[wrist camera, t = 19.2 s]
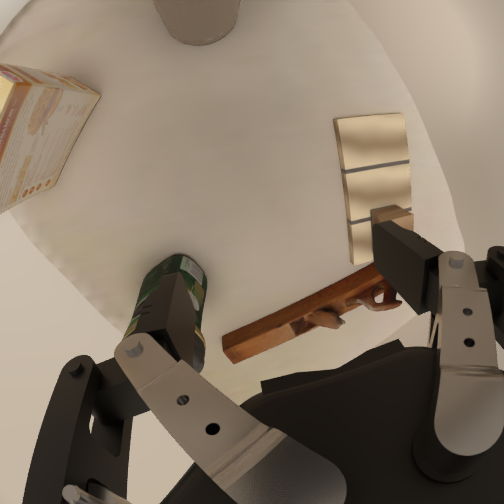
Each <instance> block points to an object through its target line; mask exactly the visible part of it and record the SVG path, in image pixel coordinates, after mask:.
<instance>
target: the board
mask: <svg viewBox="0 0 504 504" xmlns="http://www.w3.org/2000/svg"><path fill="white" fill-rule="evenodd" d="M333 122H334V127H335V133H336V139H337V145H338V151H339V158H340V164H341V171H342V179H343V186H344V195H345V203H346V213H347V223H348V234H349V247H350V261H351V263H352V264H353V265H354V266H355V265H358V264H362V263H365V262H369V261H372V260H374V259H373V252H372V233H371V215H370V210H372V209H376V208H380V207H385V206H389V205H394V204H396V205H397V206H399V207H401V208H403V209H405V210H407V211H408V212H410V213H412V209H411V181H410V165H409V153H408V143H407V134H406V126H405V119H404V113H395V114H381V115H369V116H359V117H349V118H341V119H333Z"/></svg>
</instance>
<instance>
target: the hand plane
mask: <svg viewBox="0 0 504 504" xmlns="http://www.w3.org/2000/svg"><path fill="white" fill-rule="evenodd" d="M381 293H384V298H383V302H382V303H376V302H375V300H374V298H375V297H376V296H378V295H380V294H381ZM396 294H397V291H396V290H395V289H394V288H393V287H392V286H391V285H390V284H389V283H388V281H387V280H386V279H385V278H384V277H383V276H382V275H381V274H380V273H379V272H378V271H377V269H376V267H375V264H374V262H373V263H371V264H370V265H368V266H366V267H364V268H362V269H360V270H359V271H357V272H355V273H353V274H351V275H349V276H347V277H345V278H343V279H342V280H340V281H338V282H336V283H334V284H332V285H330V286H328V287H326V288H324V289H322V290H320V291H318V292H316V293H314V294H312V295H310V296H308V297H306V298H304V299H302V300H300V301H298V302H296V303H293V304H291V305H289V306H287V307H285V308H283V309H281V310H279V311H277V312H275V313H273V314H270V315H268V316H266V317H264V318H262V319H260V320H257V321H255V322H253V323H251V324H248V325H246V326H244V327H241V328H239V329H237V330H235V331H233V332H230V333H228V334H226V335H224V336H223V337H222V347H223V352H224V353H225V355H226V356H227V357H228V358H229V359H230V361H231V362H232V363H233V364H236V363H238V362H241V361H243V360H245V359H247V358H250V357H252V356H254V355H257V354H259V353H261V352H264V351H266V350H268V349H271V348H273V347H275V346H277V345H280V344H282V343H284V342H286V341H288V340H291V339H293V338H295V337H297V336H299V335H301V334H304V333H306V332H308V331H310V330H313V329H315V328H317V327H319V326H322V327H327V328H332V329H338V328H339V327H340V326H341V325H342V324H345V321H344V320H342V319H341V318H340V317H339V316H341V315H342V314H344V313H346V312H348V311H350V310H353V309H355V308H357V307H358V306H360V305H362V304H363V305H364V306H366V307H367V308H368V309H369V310H372V311H385V310H389V309H394V308H396V307H398V306H400V305H401V304H402V301H400V300H396Z"/></svg>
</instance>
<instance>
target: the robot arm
mask: <svg viewBox="0 0 504 504" xmlns="http://www.w3.org/2000/svg"><path fill="white" fill-rule="evenodd" d="M152 2H153V3H154V5H155V7H156V9H157V11H158V12H159V14H160V16H161V18H162V20H163V22H164V23H165V25H166V27H167V29H168V31H169V32H170V34H171V35H172V36H173V37H174V38H175V39H177V40H178V41H180V42H183V43H185V44H190V45H205V44H210V43H213V42H216V41H218V40H220V39H222V38H223V37H224V36H226V35H227V34H228V33H229V32H230V31H231V30H232V28H233V26H234V25H235V22H236V18H237V13H238V9H239V3H240V0H152ZM372 233H373V259H374V264H375V267H376V269H377V271H378V272H379V273H380V274H381V275H382V276H383V277H384V278H385V279H386V280H387V281H388V283H389V284H390V285H391V286H392V287H393V288H394V289H395V290H396V291H397V292H398V293H399V294H400V295H401V297H402V298H403V299H404V300H405V301H406V302H407V303H408V304H409V305H410V306H411V308H412V309H413V310H414V311H415V312H416V313H417V314H418V315H420V314H423V313H425V312H428V311H431V316H430V322H429V334H428V343H427V347H404V346H403V345H402V343H401V342H400V340H399V339H397V340H394V341H392V342H389V343H386V344H384V345H381V346H379V347H376V348H373V349H370V350H368V351H366V352H364V353H363V354H361V355H359V356H358V357H356V358H355V359H353V360H351V361H349V362H348V363H346V364H344V365H343V366H341V367H339V368H336V369H331V370H321V371H309V372H297V373H293V374H289V375H285V376H281V377H277V378H273V379H269V380H264V381H260V382H261V387H262V392H261V393H259V394H257V395H255V396H253V397H251V398H249V399H248V400H246V401H245V402H244V403H242V404H241V405H240V406H238V405H237V404H236V403H234V402H233V401H232V400H230V399H229V398H228V397H227V396H225V395H224V394H223V393H222V392H220V391H219V390H218V389H217V388H215V387H214V386H213V385H212V384H211V383H209V382H208V381H207V380H206V379H205V378H203V377H202V376H201V375H200V374H199V373H198V372H196V371H195V370H194V369H193V354H194V339H195V325H196V313H195V308H194V305H193V302H192V299H191V297H190V294H189V292H188V289H187V287H186V284H185V281H184V279H183V276H182V274H181V273H180V272H176V273H172V274H168V275H164V276H162V277H161V279H160V282H159V285H158V288H157V290H153V291H152V292H151V293H150V294H149V295H148V296H147V297H146V299H145V301H144V304H143V308H142V310H141V313H140V316H139V319H138V321H137V324H136V327H135V331H134V334H133V335H131V336H128V337H127V338H125V339H124V340H122V341H121V342H120V343H119V344H118V346H117V347H116V349H115V352H114V358H111V359H109V360H106V361H104V362H101V363H99V364H95V362H94V361H93V360H92V358H91V357H90V356H88V355H81V356H77V357H75V358H73V359H71V360H70V361H69V362H68V363H66V365H65V366H64V367H63V369H62V371H61V373H60V375H59V378H58V381H57V383H56V386H55V388H54V391H53V394H52V396H51V399H50V402H49V405H48V408H47V410H46V413H45V416H44V419H43V422H42V426H41V429H40V432H39V435H38V439H37V442H36V446H35V449H34V453H33V457H32V461H31V464H30V469H29V473H28V477H27V482H26V487H25V492H24V497H23V503H22V504H131V503H130V502H129V501H127V498H126V497H127V478H128V462H129V451H130V440H131V430H132V421H133V416H136V415H139V414H141V413H144V412H147V411H150V410H151V411H152V412H153V413H154V415H155V416H156V417H157V419H158V420H159V421H160V422H161V424H162V425H163V426H164V427H165V429H166V430H167V431H168V432H169V433H170V434H171V436H172V437H173V438H174V439H175V440H176V442H177V443H179V445H180V446H181V447H182V448H183V449H184V451H185V452H186V453H187V454H188V455H189V456H190V457H191V458H192V459H193V460H194V461H195V462H194V463H193V464H192V466H191V467H190V468H189V469H188V470H187V472H186V473H185V474H184V475H183V477H182V478H181V479H180V480H179V482H178V483H177V484H176V485H175V486H174V488H173V489H172V490H171V491H170V492H169V494H168V495H167V496H166V497H165V498H164V499H163V501H162V502H161V503H160V504H504V371H502V370H499V369H498V364H497V351H496V342H495V340H496V341H497V342H498V343H499V344H500V345H501V347H502V348H503V349H504V247H503V246H494V247H491V248H489V250H488V253H487V259H486V260H484V261H476V262H474V261H473V259H472V258H471V257H470V256H469V255H467V254H465V253H463V252H459V251H447V252H443V251H441V250H440V249H438V248H437V247H436V246H434V245H433V244H431V243H430V242H427V240H426V239H424V238H423V237H422V238H421V236H420V235H418V234H417V233H415V232H414V231H411V230H408V229H405V228H402V227H401V226H399V225H398V224H396V223H395V222H393V221H392V220H387V221H383V222H379V223H375V224H374V225H373V228H372ZM91 414H92V415H93V416H94V422H93V426H92V431H91V433H90V430H89V422H90V418H91Z"/></svg>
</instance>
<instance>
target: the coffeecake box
mask: <svg viewBox="0 0 504 504" xmlns="http://www.w3.org/2000/svg"><path fill="white" fill-rule="evenodd" d="M100 97H101V95H99V94H98V93H96V92H95V91H93V90H92V89H90V88H88V87H87V86H85V85H83V84H82V83H80V82H78V81H76V80H74V79H73V78H71V77H69V76H65V75H61V74H56V73H52V72H47V71H42V70H37V69H32V68H27V67H21V66H15V65H9V64H2V63H0V214H1V213H3V212H5V211H6V210H8V209H10V208H12V207H14V206H15V205H17V204H19V203H21V202H23V201H25V200H27V199H29V198H31V197H33V196H35V195H36V194H38V193H40V192H42V191H45V190H47V189H49V188H51V187H53V186H55V184H56V182H57V179H58V177H59V175H60V172H61V170H62V168H63V166H64V164H65V161H66V159H67V157H68V155H69V153H70V151H71V149H72V147H73V145H74V143H75V141H76V139H77V137H78V135H79V133H80V131H81V129H82V128H83V126H84V124H85V122H86V120H87V119H88V117H89V115H90V113H91V112H92V110H93V108H94V106H95V105H96V103H97V101H98V100H99V98H100Z"/></svg>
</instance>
